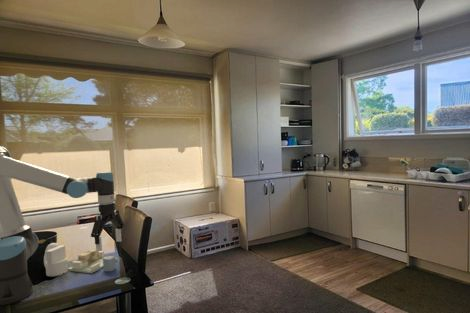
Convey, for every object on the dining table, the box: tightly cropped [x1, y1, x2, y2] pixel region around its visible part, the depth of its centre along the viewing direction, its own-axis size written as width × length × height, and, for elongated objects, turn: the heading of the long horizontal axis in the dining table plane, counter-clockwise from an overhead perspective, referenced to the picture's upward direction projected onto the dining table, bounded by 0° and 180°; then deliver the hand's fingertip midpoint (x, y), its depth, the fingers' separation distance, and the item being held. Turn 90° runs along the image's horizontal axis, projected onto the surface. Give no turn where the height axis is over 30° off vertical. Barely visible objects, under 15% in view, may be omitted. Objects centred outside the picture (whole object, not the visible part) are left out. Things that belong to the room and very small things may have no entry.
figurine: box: [43, 242, 60, 269], centre depth 156 cm, size 7×8×12 cm
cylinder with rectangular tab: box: [45, 244, 68, 277], centre depth 147 cm, size 9×9×12 cm
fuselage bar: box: [77, 248, 99, 264], centre depth 157 cm, size 10×4×5 cm, turn 163°
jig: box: [67, 250, 118, 274], centre depth 155 cm, size 18×15×4 cm
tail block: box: [102, 255, 117, 272], centre depth 148 cm, size 4×4×6 cm
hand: (109, 245), depth 148 cm, fingers open, 13 cm apart
